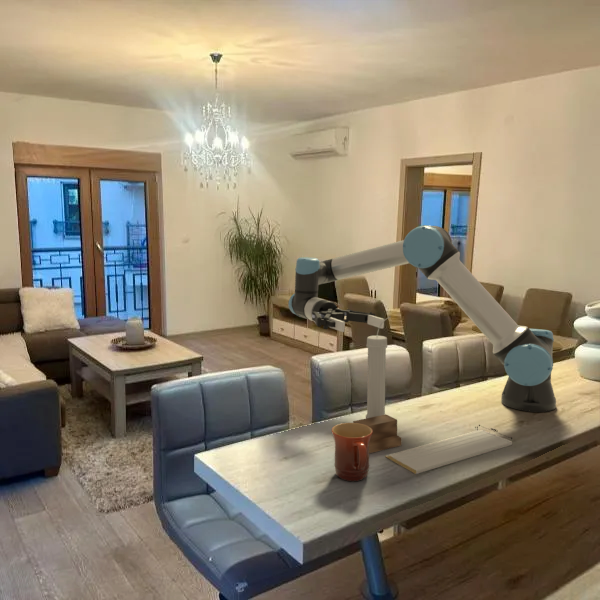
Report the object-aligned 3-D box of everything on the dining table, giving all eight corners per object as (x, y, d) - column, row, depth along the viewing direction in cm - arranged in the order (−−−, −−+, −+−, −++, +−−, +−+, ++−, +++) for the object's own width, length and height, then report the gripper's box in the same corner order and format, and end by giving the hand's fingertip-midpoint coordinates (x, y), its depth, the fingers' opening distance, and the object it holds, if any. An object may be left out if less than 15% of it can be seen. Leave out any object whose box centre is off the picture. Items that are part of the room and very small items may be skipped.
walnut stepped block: (381, 434, 140) (381, 412, 139) (401, 445, 133) (401, 422, 132) (349, 442, 135) (349, 419, 134) (367, 453, 128) (368, 429, 127)
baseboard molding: (381, 457, 128) (416, 477, 117) (381, 445, 127) (416, 464, 117) (474, 431, 143) (512, 447, 133) (474, 421, 142) (512, 436, 132)
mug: (326, 468, 120) (326, 424, 119) (364, 464, 122) (364, 421, 121) (342, 494, 109) (342, 445, 107) (383, 489, 110) (384, 441, 109)
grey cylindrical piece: (365, 421, 149) (366, 314, 145) (388, 421, 149) (390, 314, 145) (365, 428, 144) (366, 317, 140) (389, 429, 143) (391, 317, 139)
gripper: (353, 320, 174) (397, 335, 156) (286, 326, 161) (325, 342, 143) (355, 298, 173) (399, 309, 155) (287, 301, 160) (326, 314, 142)
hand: (363, 325), depth 149 cm, fingers open, 13 cm apart
